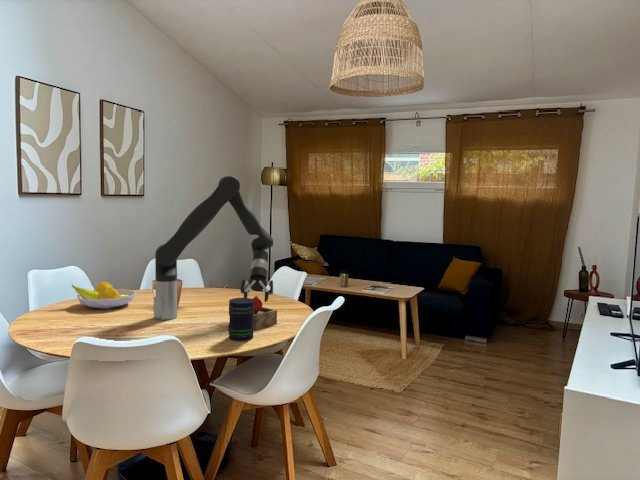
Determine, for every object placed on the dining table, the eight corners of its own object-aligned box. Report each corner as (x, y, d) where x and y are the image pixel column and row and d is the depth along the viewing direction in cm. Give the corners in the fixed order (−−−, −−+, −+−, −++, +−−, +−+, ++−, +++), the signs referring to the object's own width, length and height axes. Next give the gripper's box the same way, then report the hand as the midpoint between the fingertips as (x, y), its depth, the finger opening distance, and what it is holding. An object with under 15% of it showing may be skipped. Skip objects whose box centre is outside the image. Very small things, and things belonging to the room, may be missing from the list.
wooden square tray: (255, 330, 194) (255, 315, 193) (234, 325, 201) (234, 310, 201) (276, 324, 204) (276, 310, 203) (256, 319, 212) (256, 305, 211)
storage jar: (226, 341, 177) (226, 303, 176) (230, 333, 187) (230, 297, 186) (252, 341, 178) (253, 303, 176) (254, 333, 187) (255, 297, 186)
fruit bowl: (143, 300, 242) (143, 278, 241) (122, 313, 215) (122, 289, 214) (89, 299, 241) (89, 277, 240) (62, 311, 214) (61, 287, 213)
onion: (251, 315, 198) (251, 297, 198) (247, 312, 203) (247, 294, 203) (264, 314, 201) (264, 296, 200) (259, 311, 206) (259, 293, 205)
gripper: (242, 265, 208) (238, 295, 197) (274, 266, 208) (271, 296, 198) (244, 275, 213) (240, 305, 203) (275, 275, 214) (272, 305, 203)
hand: (255, 300), depth 200 cm, fingers open, 8 cm apart
